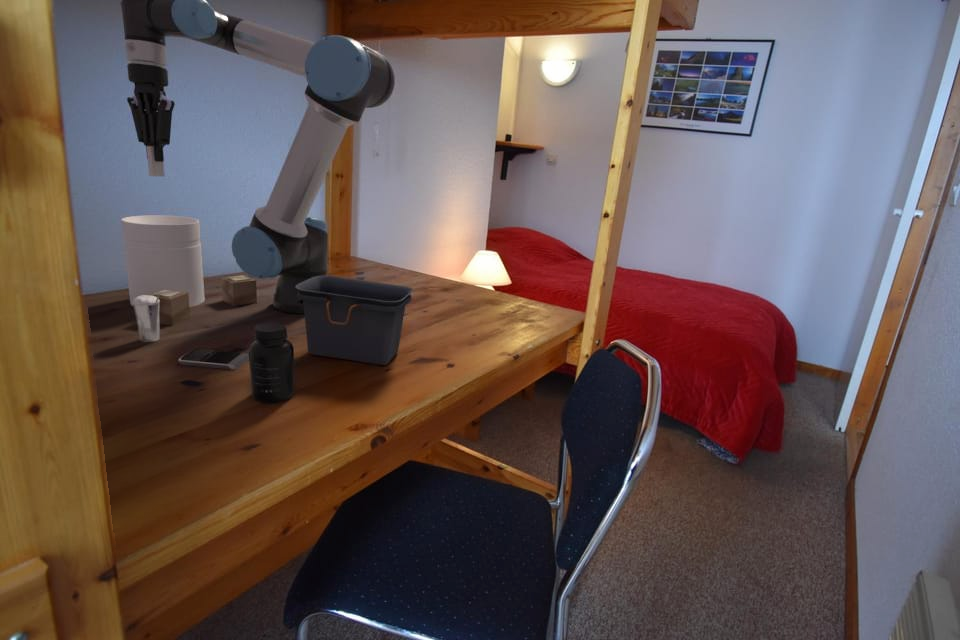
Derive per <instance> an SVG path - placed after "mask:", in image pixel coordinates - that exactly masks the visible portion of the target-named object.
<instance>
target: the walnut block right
mask: <svg viewBox="0 0 960 640" xmlns="http://www.w3.org/2000/svg"><path fill="white" fill-rule="evenodd" d="M221 289H222V290H221V292H222V295H221V296H222V301H223V302H224V303H227V304H229V305H231V306H234V307H235V306H237V307H238V306H243V305H251V304H256V303H258V296H257V294H258V293H257V280H256V279H255V278H253V277H251V276H247V275H235V276H226V277H221Z"/></svg>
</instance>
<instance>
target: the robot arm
mask: <svg viewBox="0 0 960 640" xmlns="http://www.w3.org/2000/svg"><path fill="white" fill-rule="evenodd" d="M120 6H121V14H122V21H123V22H122V24H123V31H124V32H123V33H124V40H125V41H124V42H125V50H126V51H125V53H126V60H127V61H129V62H130V63H129V62H128V64H127V65H126V67H127V68H126V69H127V77H128V81H129V82H130V83H133V84H134V89H133V94H134V95H133V96H132V97H130V96H128V97H127V99H126V101H127V103H128V105H129V108H130V110H131V115H132V118H133V123H134V127H135V132H136V136H137V140H138V142H139V143H142V144H143V146H145V150H146V159H147V167H148V169H147V170H148V175H149V177H165V168H164V166H165V165H164V164H165V163H164V162H165V160H164V159H165V157H164V156H165V155H164V147H165V146H169V145H170V143H171V133H172V132H171V131H172V120H173V119H172V117H173V110H174V108H175V105H176V104H175V101H174V100H171V99H168V97H167V92H166V91H165V88H166V87H168V86H169V72H168V70H167V68H166V67H167V66H168V56H167V48H166V46H167V45H166V37H175V38H184V39H189V40H192V41H195V42H198V43H202V44H205V45H207V46H208V45H209V46H211V47H215V48H217V49H222V50H224V51H227V52H230V53H232V54H233V53H234V54H236V55H240V56H244V57H246V58H249V59H252V60H254V61H259V62H260V63H264V64H266V65H270V66H272V67H275V68H278V69H281V70H284V71H287V72H290V73H293V74H296V75H298V76H302V77H304V78H305V79H306V81H307V86H306V88H305V91H304V96H305V98H306V101H307V107H306V110H305V112H304V115H303V117H302V119H301V121H300V124H299V127H298V129H297V130H296V131H297V132H296V134H295V135H294V138H293V140H292V143H291V145H290V148H289V150H288V152H287V155H286V158H285V159H284V162H283V165H282V167H281V170H280V171H279V175H278V177H277V179H276V181H275V184H274V186H273V188H272V191H271V193H270V195H269V198H268V199H267V202H266V205H265V206H261V207H258V208H256V209H255V211H254V214H253V216H252V218H251V221H250V223H249V225H247V226H244V227H241V228H240V229H239V230H238V231H236V232H235V234H234V235H233V238H232V241H231V252H232V256H233V258H234V259H235V263H236V265H237V266H238V267H239V269H241V270H242V271H243V272H244V273H245V274H247V275H248V277H250V278H253V279H259V280H262V279H263V280H264V279H271V278H275V277H278V280H277V284H276V287H275V291H274V292H275V293H273V295H272V306H273V308H274V309H276V310H278V311H281V312H286V313H292V314H305V313H304V303H303V300H302V299H299V298H298V297H297V293H298V291H299V290H298V289H297V288H296V287H295V286H296V285H297V284H299V283H301V282H303V281H306V280H308V279H310V278H312V277H315V276H324V275H327V276H328V259H329V258H328V257H329V256H328V255H329V254H328V253H329V252H328V248H329V246H328V244H329V243H328V242H329V241H328V239H329V238H328V237H329V232H328V222H327V221H326V220H325V219H324V218H320V217H313V216H308V215H309V214H310V212H311V208H312V207H313V205H314V202H315V200H316V198H317V196H318V194H319V191H320V189H321V187H322V185H323V183H324V180H325V179H326V177H327V174H328V172H329V170H330V167H331V165H332V164H333V161H334V158H335V156H336V154H337V152H338V150H339V147H340V146H341V143H342V141H343V139H344V137H345V135H346V133H347V130H348V129H349V127H350V126H354V125H356V124H359V122H360V121H361V118H362V116H363V115H364V113H365V112H364V111H365V110H366V109H373V108H377V107H380V106H382V105H383V104H384V103H386V102H387V101H388V100H389V98H390V97H391V96H392V95H393V91H394V89H395V85H396V83H395V81H396V80H395V78H396V77H395V72H394V69H393V67H392V65H391V63H390V61H389V60H388V59H387V57H385V55H383V54H382V53H380V52H379V51H377V50H375V49H373V48H370V47H369V46H367V45H365V44H362V43H361V42H359V41H358V40H355V39H353V38H352V37H347V36H344V35H337V34H333V35H332V34H331V35H327V36H324V37H321V38H320V39H318V40H317V41H316V42H314V41H311V40H308V39H305V38H301V37H298V36H296V35H292V34H288V33H286V32H283V31H280V30H276V29H273V28H271V27H267V26H264V25H262V24H259V23H256V22H255V23H254V22H252V21H249V20H245V19H244V18H243V19H242V18H240V17H236V16H234V15H231V14H228V13H225V12H222V11H219V10H217V9H215V8H213V7H212V6H211V5H210V4H209V2H208V1H207V0H120Z"/></svg>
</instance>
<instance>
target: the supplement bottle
mask: <svg viewBox="0 0 960 640" xmlns="http://www.w3.org/2000/svg"><path fill="white" fill-rule="evenodd" d="M253 330H254V336H253V337H254V340H255V341H253V342H252V343H251V344H250V346H249V348H248V355H249V360H248V361H249V377H250V379H249V381H250V391H251V397H252V398H253V400H255V401H257V402H260V403H265V404H275V403H281V402H284V401H286V400H288V399H290V398H291V397H292V396H293V395H294V394H295V391H296V385H295V384H296V382H295V381H296V380H295V379H296V378H295V354H294V353H295V349H294V345H293V343H292V342H291V341H290V340H288V339H287V338H288V333H287V326H286V325H285V324H284V323H279V322H264V323H259V324H257V325H256V326H255V327H254V329H253Z"/></svg>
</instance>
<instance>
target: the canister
mask: <svg viewBox="0 0 960 640" xmlns="http://www.w3.org/2000/svg"><path fill="white" fill-rule="evenodd" d="M120 221H121V228H122V238H123V246H124V247H123V248H124V257H125V265H126V276H127V284H128V286H127V287H128V293H129V295H128V296H129V302H130V305H131V306H132V307H133V303H132V302H133V300H134V299H135V298H136V297H138V296H141V295H149V294H152V293H155V292H158V291H161V290H169V291H178V292H187V293H188V295H189V308H193V307H196V306H199V305H202V304H203V303H204V302H205V301H206V299H205V285H204V283H205V282H204V271H203V256H202V255H203V254H202V244H201V226H200V220H199V219H197V218H193V217H188V216H179V215H167V214H166V215H163V214H161V215H159V214H157V215H156V214H155V215H154V214H153V215H134V216H133V215H131V216H126V217H122V218H121V219H120Z"/></svg>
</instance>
